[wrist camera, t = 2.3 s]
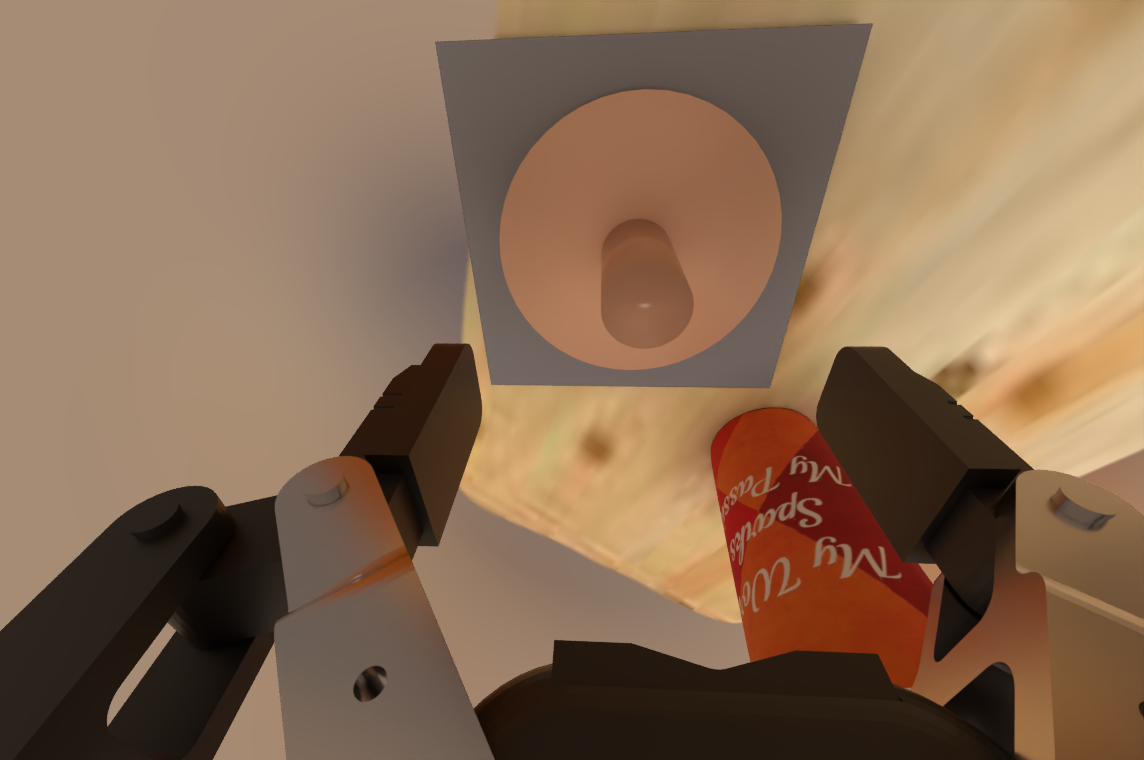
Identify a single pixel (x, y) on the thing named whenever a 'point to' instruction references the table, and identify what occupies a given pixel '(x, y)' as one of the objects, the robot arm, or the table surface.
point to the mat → (665, 62)
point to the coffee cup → (812, 549)
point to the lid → (640, 229)
